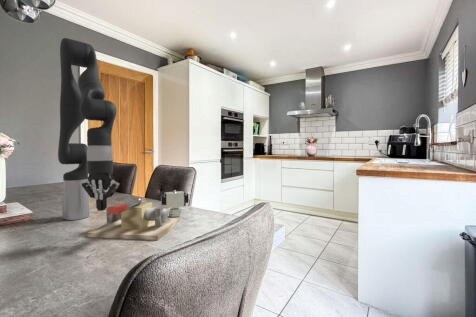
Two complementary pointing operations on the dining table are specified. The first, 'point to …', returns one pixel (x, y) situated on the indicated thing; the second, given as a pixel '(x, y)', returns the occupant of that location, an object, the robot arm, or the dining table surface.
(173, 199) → the pneumatic valve
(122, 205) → the valve lever
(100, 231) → the valve base
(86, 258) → the dining table surface
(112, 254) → the dining table surface
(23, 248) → the dining table surface
